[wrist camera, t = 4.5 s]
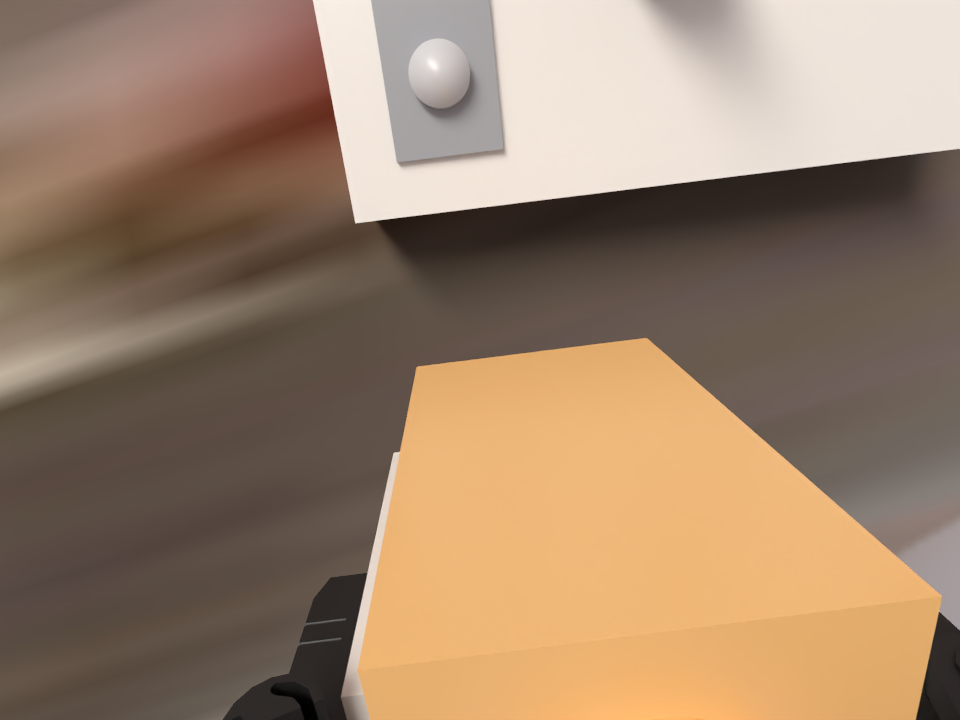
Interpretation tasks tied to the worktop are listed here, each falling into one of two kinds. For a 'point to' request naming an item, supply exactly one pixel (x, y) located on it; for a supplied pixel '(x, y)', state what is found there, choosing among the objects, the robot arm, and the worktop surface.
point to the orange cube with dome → (624, 559)
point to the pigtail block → (625, 93)
